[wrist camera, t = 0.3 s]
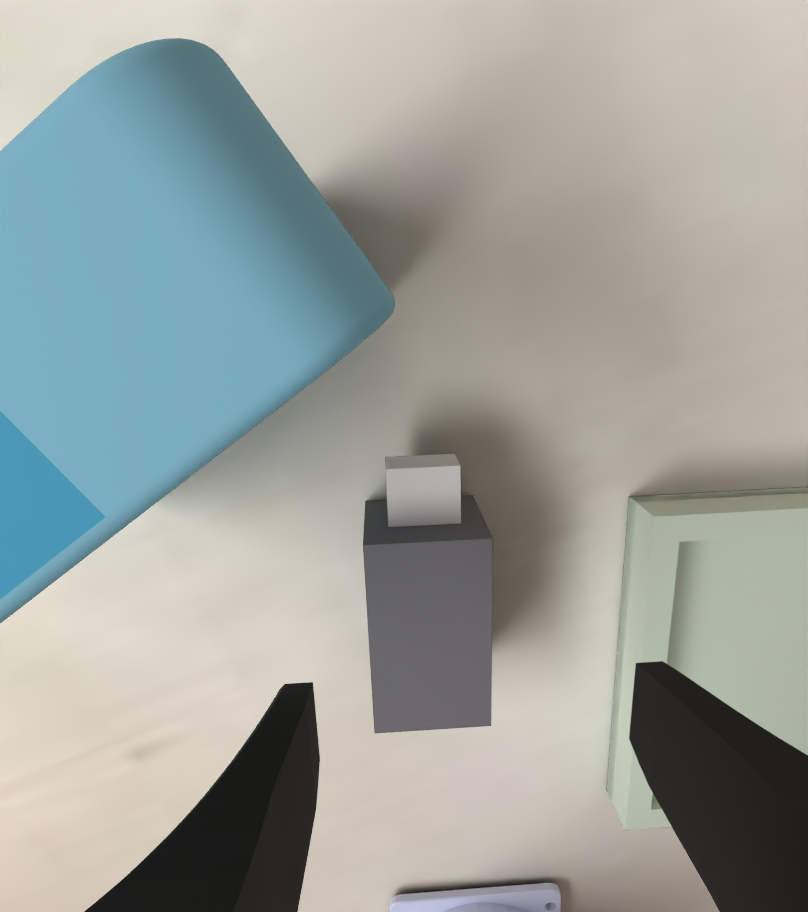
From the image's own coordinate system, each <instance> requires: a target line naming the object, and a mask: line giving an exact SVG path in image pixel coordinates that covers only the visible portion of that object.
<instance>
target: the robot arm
mask: <svg viewBox="0 0 808 912" xmlns="http://www.w3.org/2000/svg"><path fill="white" fill-rule="evenodd" d="M629 740H630V742H631V745H632V747H633V750H634V752H635V755H636V757H637V760H638V762H639V765H640V767H641V769H642V771H643V774H644V776H645V778H646V780H647V783H648V785H649V787H650V789H651V790H652V792H653V794H654V796H655V798H656V800H657V801H658V803H659V805H660V807H661V808H662V810H663V812H664V814H665V815H666V817H667V819H668V821H669V823H670V824H671V826H672V828H673V830H674V831H675V833H676V835H677V837H678V838H679V840H680V842H681V843H682V845H683V847H684V849H685V850H686V852H687V854H688V856H689V857H690V859H691V861H692V863H693V864H694V866H695V868H696V870H697V871H698V873H699V875H700V877H701V878H702V880H703V882H704V884H705V885H706V887H707V889H708V890H709V892H710V894H711V896H712V898H713V900H714V902H715V904H716V905H717V907H718V909H719V911H720V912H808V755H806V754H805V753H803V752H801V751H800V750H798V749H797V748H795V747H793V746H792V745H790V744H788V743H787V742H785V741H783V740H782V739H780V738H778V737H777V736H775V735H773V734H772V733H770V732H769V731H767V730H766V729H764V728H762V727H761V726H759V725H758V724H756V723H755V722H753V721H751V720H750V719H748V718H747V717H745V716H744V715H742V714H741V713H739V712H738V711H736V710H735V709H733V708H732V707H730V706H729V705H727V704H726V703H724V702H723V701H721V700H720V699H719V698H717V697H716V696H714V695H713V694H711V693H710V692H708V691H707V690H705V689H704V688H702V687H701V686H699V685H698V684H697V683H695V682H694V681H692V680H691V679H689V678H688V677H686V676H685V675H683V674H682V673H680V672H679V671H677V670H676V669H674V668H673V667H671V666H670V665H668V664H666V663H665V662H663V661H659V662H642V663H636V666H635V677H634V689H633V700H632V711H631V722H630V733H629ZM319 762H320V757H319V746H318V735H317V724H316V713H315V702H314V691H313V682H311V683H295V684H285V685H284V686H283V687H282V688H281V689H280V690H279V692H278V693H277V695H276V697H275V698H274V700H273V702H272V703H271V705H270V707H269V708H268V710H267V711H266V713H265V714H264V716H263V717H262V719H261V721H260V722H259V724H258V725H257V727H256V728H255V730H254V731H253V732H252V734H251V735H250V737H249V738H248V739H247V741H246V742H245V744H244V745H243V747H242V748H241V749H240V751H239V752H238V754H237V755H236V756H235V758H234V759H233V760H232V762H231V763H230V764H229V766H228V767H227V768H226V769H225V771H224V772H223V773H222V774H221V776H220V777H219V778H218V779H217V781H216V782H215V783H214V785H213V786H212V787H211V788H210V790H209V791H208V792H207V793H206V794H205V796H204V797H203V798H202V799H201V800H200V801H199V803H198V804H197V805H196V806H195V807H194V808H193V809H192V811H191V812H190V813H189V814H188V815H187V816H186V817H185V818H184V819H183V820H182V822H181V823H180V824H179V825H178V826H177V827H176V828H175V829H174V830H173V831H172V832H171V833H170V834H169V835H168V836H167V837H166V838H165V839H164V840H163V841H162V842H161V843H160V844H159V845H158V846H157V847H156V848H155V849H154V850H153V851H152V852H151V853H150V854H149V855H148V856H147V857H146V858H145V859H144V860H143V861H142V862H141V863H140V864H139V865H138V866H137V867H136V868H135V869H134V870H133V871H131V872H130V873H129V874H128V875H127V876H126V877H125V878H124V879H123V880H122V881H120V882H119V883H118V884H117V885H116V886H115V887H113V888H112V889H111V890H110V891H109V892H108V893H106V894H105V895H104V896H103V897H102V898H100V899H99V900H98V901H97V902H96V903H94V904H93V905H92V906H91V907H90V908H88V909H87V910H86V911H85V912H297V911H298V905H299V900H300V894H301V889H302V883H303V878H304V872H305V867H306V861H307V856H308V850H309V845H310V839H311V834H312V828H313V822H314V817H315V811H316V802H317V790H318V776H319ZM389 906H390V912H561V893H560V890H559V887H558V886H557V885H556V884H554V883H538V884H525V885H512V886H500V887H487V888H474V889H461V890H449V891H436V892H423V893H410V894H399V895H395V896H394V897H392V899H391V900H390V903H389Z"/></svg>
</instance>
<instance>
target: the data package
mask: <svg viewBox="0 0 808 912" xmlns="http://www.w3.org/2000/svg"><path fill="white" fill-rule="evenodd" d="M394 306H395V300H394V296H393V294H392V292H391V291H390V289H389V288H388V287H387V285H386V284H385V283H384V281H383V280H382V278H381V277H380V276H379V274H378V273H377V272H376V270H375V269H374V267H373V266H372V265H371V263H370V262H369V260H368V259H367V258H366V256H365V255H364V254H363V252H362V251H361V249H360V248H359V247H358V245H357V244H356V242H355V241H354V240H353V238H352V237H351V236H350V234H349V233H348V231H347V230H346V229H345V227H344V226H343V225H342V223H341V222H340V220H339V219H338V218H337V216H336V215H335V213H334V212H333V211H332V209H331V208H330V207H329V205H328V204H327V202H326V201H325V200H324V198H323V197H322V196H321V194H320V193H319V191H318V190H317V189H316V187H315V186H314V184H313V183H312V182H311V180H310V179H309V178H308V176H307V175H306V173H305V172H304V171H303V169H302V168H301V166H300V165H299V164H298V162H297V161H296V160H295V158H294V157H293V155H292V154H291V153H290V151H289V150H288V149H287V147H286V146H285V144H284V143H283V142H282V140H281V139H280V137H279V136H278V135H277V133H276V132H275V131H274V129H273V128H272V126H271V125H270V124H269V122H268V121H267V120H266V118H265V117H264V115H263V114H262V113H261V111H260V110H259V108H258V107H257V106H256V104H255V103H254V102H253V100H252V99H251V97H250V96H249V95H248V93H247V92H246V90H245V89H244V88H243V86H242V85H241V84H240V82H239V81H238V79H237V78H236V77H235V75H234V74H233V73H232V71H231V70H230V68H229V67H228V66H227V64H226V63H225V62H224V60H223V59H222V58H221V57H220V56H219V55H218V54H217V53H216V52H215V51H214V50H212V49H211V48H209V47H208V46H206V45H204V44H202V43H199V42H196V41H193V40H188V39H181V38H175V39H162V40H155V41H151V42H147V43H144V44H140V45H137V46H135V47H132V48H129V49H127V50H124V51H122V52H120V53H118V54H116V55H114V56H112V57H110V58H109V59H107V60H105V61H104V62H102V63H101V64H99V65H97V66H96V67H94V68H93V69H92V70H90V71H89V72H87V73H86V74H85V75H83V76H82V77H81V78H80V79H78V80H77V81H76V82H75V83H74V84H73V85H71V86H70V87H69V88H68V89H67V90H66V91H65V92H64V93H63V94H61V95H60V96H59V97H58V98H57V99H56V100H55V101H54V102H53V103H52V104H51V105H50V106H49V107H47V108H46V109H45V110H44V111H43V112H42V113H41V114H40V115H39V116H38V117H37V118H36V119H34V120H33V121H32V122H31V123H30V124H29V125H28V126H27V127H26V128H25V129H24V130H23V131H22V132H20V133H19V134H18V135H17V136H16V137H15V138H14V139H13V140H12V141H11V142H10V143H9V144H8V145H6V146H5V147H4V148H3V149H2V150H1V151H0V623H1V622H3V621H4V620H5V619H7V618H8V617H9V616H10V615H12V614H13V613H14V612H16V611H17V610H18V609H19V608H21V607H22V606H23V605H25V604H26V603H27V602H29V601H30V600H31V599H32V598H34V597H35V596H36V595H38V594H39V593H40V592H41V591H43V590H44V589H45V588H47V587H48V586H49V585H50V584H52V583H53V582H54V581H56V580H57V579H58V578H60V577H61V576H62V575H63V574H65V573H66V572H67V571H69V570H70V569H71V568H72V567H74V566H75V565H76V564H78V563H79V562H80V561H81V560H83V559H84V558H85V557H87V556H88V555H89V554H91V553H92V552H93V551H94V550H96V549H97V548H98V547H100V546H101V545H102V544H103V543H105V542H106V541H107V540H109V539H110V538H111V537H112V536H114V535H115V534H116V533H118V532H119V531H120V530H122V529H123V528H124V527H125V526H127V525H128V524H129V523H131V522H132V521H133V520H134V519H136V518H137V517H138V516H140V515H141V514H142V513H143V512H145V511H146V510H147V509H149V508H150V507H151V506H153V505H154V504H155V503H156V502H158V501H159V500H160V499H162V498H163V497H164V496H165V495H167V494H168V493H169V492H171V491H172V490H173V489H174V488H176V487H177V486H178V485H180V484H181V483H182V482H184V481H185V480H186V479H187V478H189V477H190V476H191V475H193V474H194V473H195V472H196V471H198V470H199V469H200V468H202V467H203V466H204V465H205V464H207V463H208V462H209V461H211V460H212V459H213V458H215V457H216V456H217V455H218V454H220V453H221V452H222V451H224V450H225V449H226V448H227V447H229V446H230V445H231V444H233V443H234V442H235V441H236V440H238V439H239V438H240V437H242V436H243V435H244V434H246V433H247V432H248V431H249V430H251V429H252V428H253V427H255V426H256V425H257V424H258V423H260V422H261V421H262V420H264V419H265V418H266V417H267V416H269V415H270V414H271V413H273V412H274V411H275V410H277V409H278V408H279V407H280V406H282V405H283V404H284V403H286V402H287V401H288V400H289V399H291V398H292V397H293V396H295V395H296V394H297V393H298V392H300V391H301V390H302V389H304V388H305V387H306V386H308V385H309V384H310V383H311V382H313V381H314V380H315V379H317V378H318V377H319V376H320V375H322V374H323V373H324V372H325V371H327V370H328V369H329V368H330V367H332V366H333V365H334V364H335V363H337V362H338V361H339V360H340V359H342V358H343V357H344V356H345V355H347V354H348V353H349V352H350V351H352V350H353V349H354V348H355V347H356V346H358V345H359V344H360V343H361V342H362V341H364V340H365V339H366V338H367V337H368V336H369V335H371V334H372V333H373V332H374V331H375V330H376V329H377V328H379V327H380V326H381V325H382V324H383V323H384V322H385V321H386V320H387V319H388V318H389V317H390V315H391V314H392V312H393V310H394Z"/></svg>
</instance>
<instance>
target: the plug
mask: <svg viewBox="0 0 808 912" xmlns="http://www.w3.org/2000/svg"><path fill="white" fill-rule="evenodd" d="M385 467H386V488H387V500H375V501H366V502H365V520H364V538H363V552H364V568H365V585H366V601H367V617H368V633H369V650H370V666H371V682H372V698H373V715H374V731H375V733H386V732H402V731H418V730H433V729H449V728H465V727H480V726H491V678H492V563H493V538H492V536H491V534H490V532H489V530H488V528H487V525H486V523H485V521H484V519H483V517H482V515H481V513H480V511H479V508H478V506H477V504H476V502H475V500H474V498H473V496H461V473H460V464H459V462H458V460H457V457H456V455H455V454H438V455H417V456H396V457H385Z"/></svg>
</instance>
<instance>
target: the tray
mask: <svg viewBox="0 0 808 912" xmlns="http://www.w3.org/2000/svg"><path fill="white" fill-rule="evenodd" d="M659 661H663V662H665V663H666V664H668V665H670V666H671V667H673V668H674V669H676V670H677V671H679V672H680V673H682V674H683V675H685V676H686V677H688V678H689V679H691V680H692V681H694V682H695V683H697V684H698V685H699V686H701V687H702V688H704V689H705V690H707V691H708V692H710V693H711V694H713V695H714V696H716V697H717V698H719V699H720V700H721V701H723V702H724V703H726V704H727V705H729V706H730V707H732V708H733V709H735V710H736V711H738V712H739V713H741V714H742V715H744V716H745V717H747V718H748V719H750V720H751V721H753V722H755V723H756V724H758V725H759V726H761V727H762V728H764V729H766V730H767V731H769V732H770V733H772V734H773V735H775V736H777V737H778V738H780V739H782V740H783V741H785V742H787V743H788V744H790V745H792V746H793V747H795V748H797V749H798V750H800V751H801V752H803V753H805V754H806V755H808V487H799V488H780V489H762V490H743V491H725V492H706V493H688V494H669V495H651V496H632V497H629V503H628V516H627V529H626V542H625V554H624V567H623V580H622V593H621V606H620V619H619V632H618V645H617V658H616V671H615V683H614V696H613V709H612V722H611V735H610V748H609V761H608V774H607V787H606V790H607V792H608V795H609V797H610V799H611V801H612V803H613V805H614V807H615V810H616V812H617V814H618V816H619V818H620V820H621V822H622V825H623V827H624V829H625V830H639V829H652V828H665V827H672V826H671V824H670V823H669V821H668V819H667V817H666V815H665V814H664V812H663V810H662V808H661V807H660V805H659V803H658V801H657V800H656V798H655V796H654V794H653V792H652V790H651V789H650V787H649V785H648V783H647V780H646V778H645V776H644V774H643V771H642V769H641V767H640V765H639V762H638V760H637V757H636V755H635V752H634V750H633V747H632V745H631V742H630V740H629V733H630V722H631V711H632V700H633V689H634V677H635V666H636V663H642V662H659Z"/></svg>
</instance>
